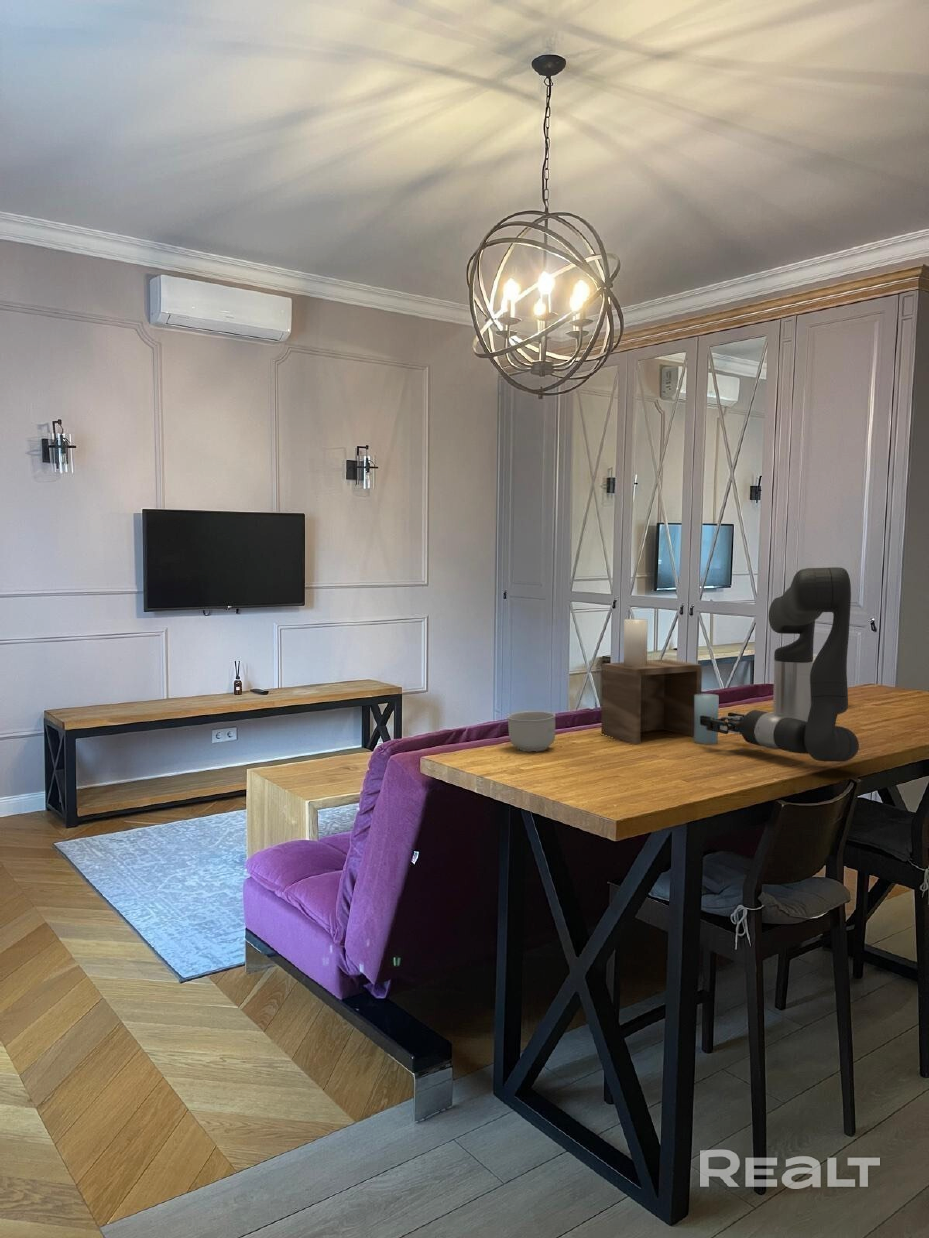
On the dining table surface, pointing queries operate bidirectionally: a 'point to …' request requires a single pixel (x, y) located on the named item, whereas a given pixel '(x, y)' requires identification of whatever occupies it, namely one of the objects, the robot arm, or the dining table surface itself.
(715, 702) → the pale blue cylinder
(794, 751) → the robot arm
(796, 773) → the dining table surface
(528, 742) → the teacup
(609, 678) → the walnut shelf
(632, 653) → the white pillar candle
